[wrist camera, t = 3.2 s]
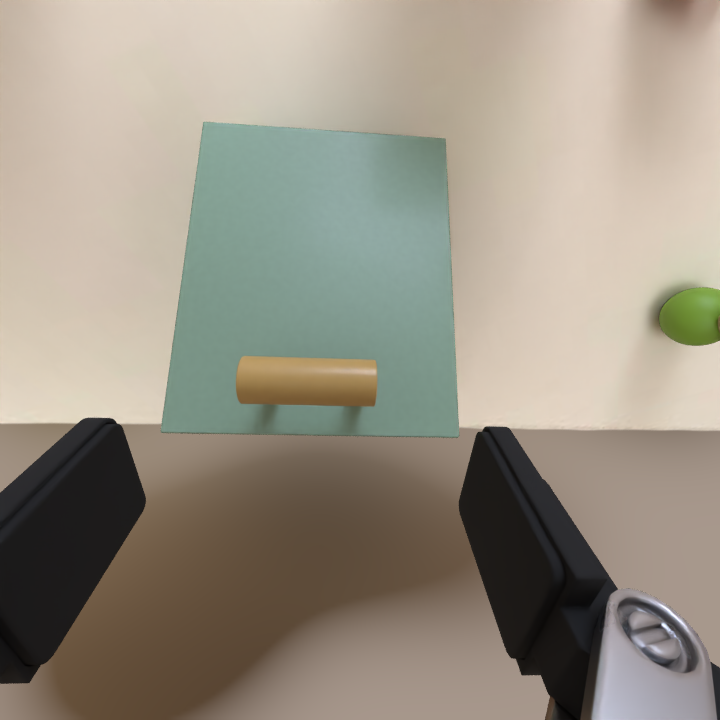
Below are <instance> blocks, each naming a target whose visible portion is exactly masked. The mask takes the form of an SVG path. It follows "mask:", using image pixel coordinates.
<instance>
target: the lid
mask: <svg viewBox="0 0 720 720" xmlns="http://www.w3.org/2000/svg"><path fill="white" fill-rule="evenodd" d="M161 432H162V433H192V434H193V433H194V434H195V433H196V434H199V433H200V434H255V435H318V436H321V435H322V436H380V437H382V436H383V437H443V438H458V437H459V422H458V400H457V378H456V356H455V334H454V312H453V290H452V269H451V247H450V225H449V203H448V181H447V159H446V139H445V138H432V137H417V136H403V135H388V134H374V133H359V132H345V131H331V130H316V129H302V128H287V127H273V126H258V125H244V124H229V123H215V122H203V129H202V136H201V143H200V151H199V158H198V165H197V172H196V180H195V187H194V194H193V201H192V208H191V216H190V223H189V230H188V237H187V245H186V252H185V259H184V266H183V274H182V281H181V288H180V295H179V303H178V310H177V317H176V324H175V331H174V339H173V346H172V353H171V360H170V368H169V375H168V382H167V389H166V397H165V404H164V411H163V418H162V425H161Z"/></svg>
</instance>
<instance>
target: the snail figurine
mask: <svg viewBox="0 0 720 720" xmlns="http://www.w3.org/2000/svg"><path fill="white" fill-rule="evenodd" d="M659 323H660V327H661V329H662V331H663V332H664V333H665V334H666V335H667V336H668V337H669V338H670V339H672V340H674V341H676V342H678V343H681V344H685V345H692V346H700V345H708V344H712V343H715V342H717V341H720V290H718V289H714V288H704V287H702V288H692V289H688V290H685V291H682V292H680V293H678V294H676V295H674V296H673V297H671V298H670V299H669V300H668V301H667V302H666V303H665V304H664V306H663V307H662V309H661V311H660V315H659Z"/></svg>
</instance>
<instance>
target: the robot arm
mask: <svg viewBox="0 0 720 720" xmlns="http://www.w3.org/2000/svg"><path fill="white" fill-rule="evenodd" d="M145 503H146V498H145V494H144V491H143V488H142V485H141V482H140V479H139V476H138V473H137V470H136V467H135V464H134V461H133V458H132V454H131V451H130V449H129V445H128V442H127V440H126V436H125V434H124V430H123V428H122V426H121V425H119V424H117V423H116V421H115V420H114V419H111V418H85V419H83V420H81V421H80V422H79V423H78V424H77V425H75V426H74V427H73V428H72V429H71V430H70V431H69V432H68V433H67V434H65V435H64V436H63V437H62V438H61V439H60V440H59V441H58V442H56V443H55V444H54V445H53V446H52V447H51V448H50V449H49V450H48V451H46V452H45V453H44V454H43V455H42V456H41V457H40V458H39V459H37V460H36V461H35V462H34V463H33V464H32V465H31V466H30V467H29V468H28V469H26V470H25V471H24V472H23V473H22V474H21V475H20V476H18V477H17V478H16V479H15V480H14V481H13V482H12V483H11V484H10V485H8V486H7V487H6V488H5V489H4V490H3V491H2V492H1V493H0V683H1V684H5V683H6V684H8V683H30V681H31V679H32V678H33V676H34V675H35V673H36V672H37V670H38V668H39V667H40V665H41V664H44V663H46V662H47V661H48V660H49V659H50V658H51V657H52V656H53V655H54V653H55V651H56V650H57V649H58V647H59V645H60V644H61V642H62V641H63V639H64V637H65V636H66V634H67V632H68V631H69V629H70V628H71V626H72V624H73V623H74V621H75V619H76V618H77V616H78V615H79V613H80V611H81V610H82V608H83V607H84V605H85V604H86V602H87V600H88V599H89V597H90V596H91V594H92V592H93V591H94V589H95V587H96V586H97V584H98V583H99V581H100V579H101V578H102V576H103V575H104V573H105V571H106V570H107V568H108V567H109V565H110V563H111V562H112V560H113V559H114V557H115V555H116V554H117V552H118V550H119V549H120V547H121V546H122V544H123V542H124V541H125V539H126V538H127V536H128V534H129V533H130V531H131V530H132V528H133V526H134V525H135V523H136V521H137V520H138V518H139V517H140V515H141V514H142V512H143V510H144V507H145ZM459 511H460V515H461V518H462V521H463V524H464V527H465V530H466V533H467V536H468V539H469V542H470V545H471V548H472V551H473V554H474V557H475V560H476V563H477V566H478V569H479V572H480V575H481V577H482V581H483V584H484V586H485V589H486V592H487V595H488V598H489V601H490V604H491V607H492V610H493V613H494V616H495V619H496V622H497V625H498V628H499V631H500V634H501V637H502V640H503V643H504V646H505V648H506V651H507V653H508V655H509V656H510V657H511V658H515V659H516V660H517V663H518V666H519V669H520V672H521V675H541V677H542V679H543V682H544V684H545V687H546V689H547V692H548V694H549V695H550V699H549V704H548V708H547V713H546V717H545V720H720V668H719V667H718V666H716V665H715V664H713V663H712V662H710V659H709V656H708V652H707V650H706V648H705V647H704V645H703V643H702V641H701V640H700V638H699V636H698V634H697V633H696V632H695V631H694V630H693V629H692V627H691V626H690V625H689V624H688V623H687V621H686V620H685V619H684V618H682V617H681V616H680V615H679V614H678V613H677V612H676V611H675V610H673V609H672V608H671V607H670V606H668V605H667V604H665V603H664V602H662V601H660V600H659V599H658V598H656V597H654V596H651V595H649V594H647V593H645V592H643V591H639V590H634V589H630V588H627V589H617V587H616V586H615V584H614V583H613V581H612V580H611V578H610V577H609V575H608V574H607V572H606V571H605V569H604V568H603V566H602V565H601V563H600V562H599V560H598V558H597V557H596V555H595V554H594V553H593V551H592V549H591V548H590V546H589V545H588V543H587V542H586V540H585V539H584V537H583V536H582V534H581V533H580V531H579V530H578V528H577V527H576V525H575V524H574V522H573V521H572V519H571V518H570V516H569V515H568V513H567V512H566V510H565V509H564V507H563V506H562V505H561V503H560V501H559V500H558V498H557V497H556V495H555V494H554V492H553V491H552V489H551V487H550V486H549V485H548V484H547V482H546V481H545V480H543V479H542V477H541V476H540V474H539V473H538V471H537V470H536V468H535V467H534V466H533V464H532V462H531V461H530V459H529V458H528V456H527V454H526V453H525V451H524V450H523V448H522V447H521V445H520V444H519V442H518V441H517V439H516V438H515V436H514V435H513V433H512V432H511V430H510V429H509V428H507V427H485V428H484V429H483V431H482V432H478V433H477V435H476V438H475V442H474V446H473V450H472V453H471V457H470V461H469V465H468V469H467V472H466V476H465V480H464V484H463V488H462V491H461V495H460V499H459Z"/></svg>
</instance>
